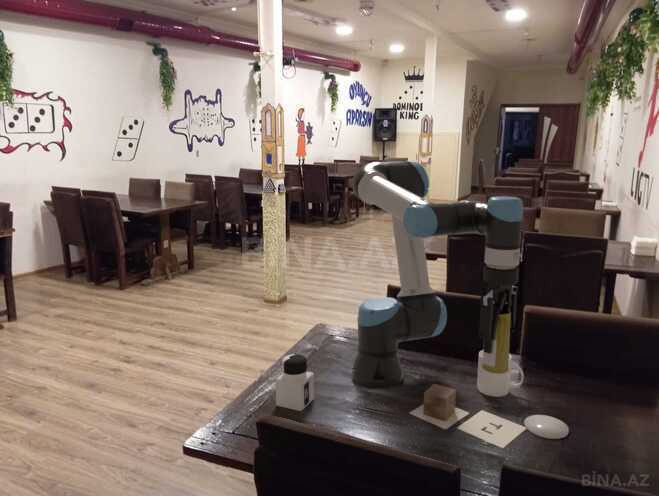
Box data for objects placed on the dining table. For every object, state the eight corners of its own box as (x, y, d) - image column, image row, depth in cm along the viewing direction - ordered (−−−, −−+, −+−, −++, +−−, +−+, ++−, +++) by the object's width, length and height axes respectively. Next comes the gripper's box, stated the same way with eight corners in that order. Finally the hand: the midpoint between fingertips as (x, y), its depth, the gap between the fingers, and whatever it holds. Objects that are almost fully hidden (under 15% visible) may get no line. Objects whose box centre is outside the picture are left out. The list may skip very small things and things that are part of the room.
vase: (480, 371, 120) (483, 313, 117) (483, 361, 126) (486, 305, 123) (508, 375, 118) (512, 316, 115) (509, 365, 123) (513, 308, 121)
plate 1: (408, 414, 132) (408, 412, 132) (433, 399, 140) (433, 398, 139) (445, 430, 124) (445, 429, 124) (469, 413, 132) (469, 412, 132)
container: (314, 398, 140) (314, 354, 138) (301, 412, 133) (300, 365, 131) (289, 393, 144) (288, 349, 141) (275, 406, 137) (274, 360, 134)
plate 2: (456, 429, 125) (456, 427, 125) (481, 411, 133) (481, 409, 133) (502, 449, 117) (502, 448, 116) (526, 428, 125) (526, 427, 125)
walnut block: (423, 414, 131) (424, 392, 130) (433, 404, 136) (434, 383, 135) (445, 421, 128) (446, 399, 127) (454, 411, 133) (455, 389, 131)
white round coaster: (516, 427, 125) (517, 425, 125) (535, 412, 132) (535, 410, 132) (558, 444, 118) (558, 442, 118) (575, 427, 125) (575, 425, 125)
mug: (521, 402, 137) (523, 365, 135) (475, 394, 142) (476, 358, 140) (523, 389, 145) (525, 353, 143) (479, 381, 150) (481, 346, 148)
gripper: (496, 275, 108) (490, 378, 112) (535, 261, 120) (528, 353, 125) (464, 269, 113) (460, 368, 118) (505, 256, 126) (500, 345, 130)
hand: (495, 360), depth 121 cm, fingers closed on vase, 6 cm apart
